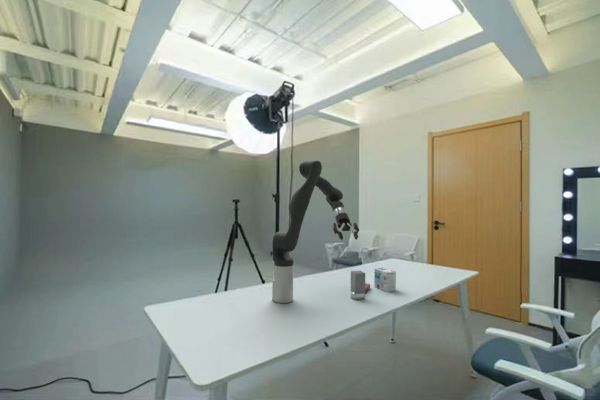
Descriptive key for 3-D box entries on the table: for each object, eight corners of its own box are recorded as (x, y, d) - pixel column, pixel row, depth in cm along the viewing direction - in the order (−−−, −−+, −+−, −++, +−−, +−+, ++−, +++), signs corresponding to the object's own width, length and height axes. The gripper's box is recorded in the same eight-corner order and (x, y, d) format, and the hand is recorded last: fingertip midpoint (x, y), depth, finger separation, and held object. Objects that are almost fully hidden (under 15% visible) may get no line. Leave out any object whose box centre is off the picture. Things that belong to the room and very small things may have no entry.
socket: (355, 294, 140) (355, 273, 140) (350, 290, 145) (350, 271, 145) (365, 293, 141) (365, 273, 141) (360, 290, 146) (360, 270, 147)
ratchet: (362, 301, 138) (362, 286, 138) (348, 298, 142) (349, 284, 142) (373, 288, 159) (373, 276, 159) (361, 287, 162) (361, 274, 162)
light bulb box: (373, 286, 163) (374, 268, 163) (383, 285, 166) (383, 267, 166) (386, 292, 153) (387, 272, 153) (396, 290, 156) (396, 271, 156)
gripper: (331, 212, 161) (339, 234, 149) (354, 212, 164) (363, 234, 153) (328, 220, 166) (335, 243, 154) (350, 220, 169) (359, 242, 158)
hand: (349, 238), depth 154 cm, fingers open, 8 cm apart
